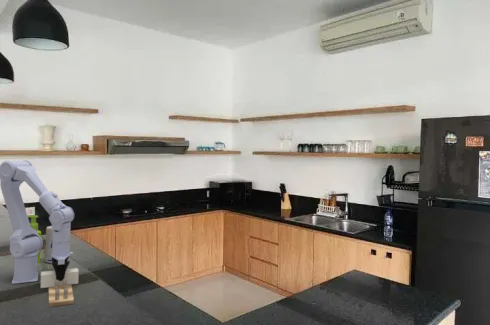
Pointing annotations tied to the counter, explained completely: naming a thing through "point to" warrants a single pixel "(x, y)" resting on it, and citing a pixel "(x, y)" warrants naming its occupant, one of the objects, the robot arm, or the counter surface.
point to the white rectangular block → (50, 277)
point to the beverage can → (48, 244)
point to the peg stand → (60, 294)
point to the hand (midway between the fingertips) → (59, 278)
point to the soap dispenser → (35, 226)
